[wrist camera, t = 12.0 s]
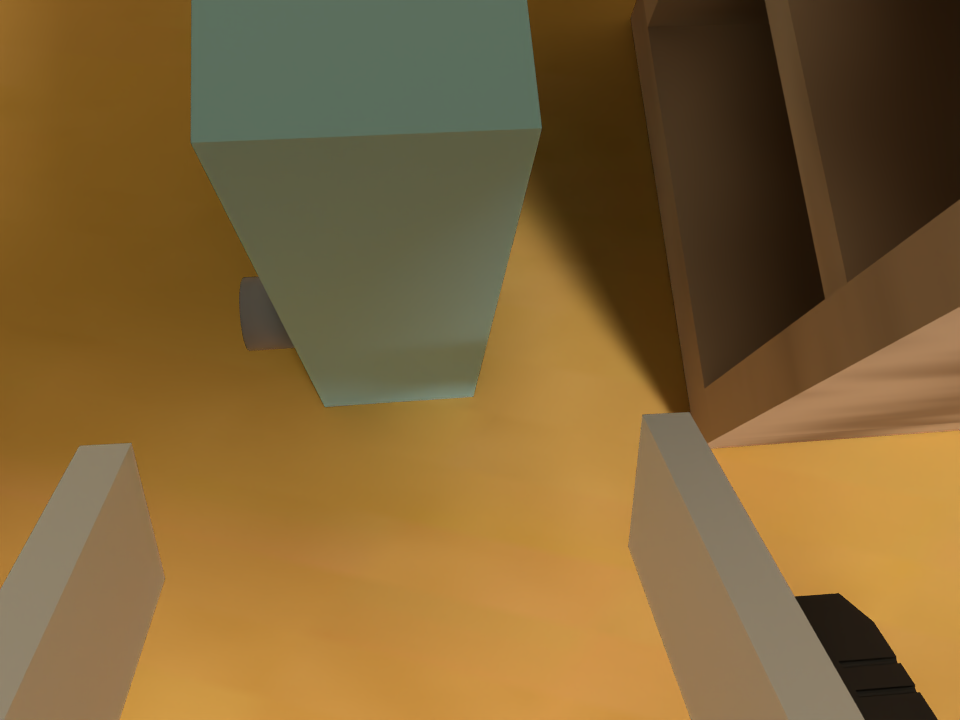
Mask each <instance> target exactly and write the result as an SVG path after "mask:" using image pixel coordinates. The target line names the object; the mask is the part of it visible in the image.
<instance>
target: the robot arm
mask: <svg viewBox="0 0 960 720" xmlns="http://www.w3.org/2000/svg"><path fill="white" fill-rule="evenodd" d="M628 547H629V550H630V553H631V555H632V558H633V561H634V564H635V566H636V569H637V572H638V575H639V578H640V580H641V583H642V586H643V589H644V591H645V594H646V597H647V600H648V602H649V605H650V608H651V611H652V613H653V616H654V619H655V622H656V624H657V627H658V630H659V633H660V636H661V638H662V641H663V644H664V647H665V649H666V652H667V655H668V658H669V660H670V663H671V666H672V669H673V671H674V674H675V677H676V680H677V682H678V685H679V688H680V691H681V694H682V696H683V699H684V702H685V705H686V707H687V710H688V713H689V716H690V718H691V720H938V719H937V718H936V716H935V715H934V713H933V712H932V710H931V709H930V707H929V706H928V704H927V702H926V701H925V699H924V698H923V696H922V695H921V693H920V692H918V693H917V692H916V690H915V684H914V683H913V681H912V680H911V678H910V677H909V675H908V674H907V672H906V671H905V669H904V667H903V666H902V664H901V663H897V661H896V655H895V654H894V652H893V651H892V649H891V648H890V646H889V645H888V643H887V642H886V640H885V639H884V637H883V636H882V634H881V633H880V631H879V629H878V628H877V626H876V625H875V623H874V622H873V621H872V620H871V619H869V618H868V617H867V616H866V615H865V614H863V613H862V612H861V611H860V610H858V609H857V608H856V607H855V606H854V605H852V604H851V603H850V602H849V601H848V600H846V599H845V598H844V597H843V596H841V595H840V594H839V593H837V594H823V595H810V596H796V597H794V595H793V593H792V591H791V590H790V588H789V586H788V584H787V583H786V581H785V579H784V577H783V576H782V574H781V572H780V570H779V569H778V567H777V565H776V563H775V562H774V560H773V558H772V556H771V555H770V553H769V551H768V549H767V547H766V546H765V544H764V542H763V540H762V539H761V537H760V535H759V533H758V532H757V530H756V528H755V526H754V525H753V523H752V521H751V519H750V518H749V516H748V514H747V512H746V511H745V509H744V507H743V505H742V504H741V502H740V500H739V498H738V497H737V495H736V493H735V491H734V490H733V488H732V486H731V484H730V483H729V481H728V479H727V477H726V476H725V474H724V472H723V470H722V469H721V467H720V465H719V463H718V462H717V460H716V458H715V456H714V455H713V453H712V451H711V449H710V447H709V446H708V444H707V442H706V440H705V439H704V437H703V435H702V433H701V432H700V430H699V428H698V426H697V425H696V423H695V421H694V419H693V418H692V416H691V414H690V412H681V413H663V414H645V415H642V424H641V433H640V442H639V452H638V461H637V470H636V480H635V489H634V498H633V508H632V517H631V526H630V536H629V545H628ZM164 580H165V576H164V572H163V568H162V564H161V560H160V556H159V552H158V548H157V543H156V539H155V535H154V531H153V527H152V523H151V519H150V515H149V511H148V507H147V503H146V499H145V495H144V491H143V487H142V483H141V479H140V475H139V471H138V467H137V463H136V459H135V455H134V451H133V447H132V443H121V444H103V445H85V446H79V448H78V449H77V451H76V453H75V455H74V457H73V458H72V460H71V462H70V464H69V466H68V467H67V469H66V471H65V473H64V475H63V477H62V478H61V480H60V482H59V484H58V486H57V487H56V489H55V491H54V493H53V495H52V497H51V498H50V500H49V502H48V504H47V506H46V507H45V509H44V511H43V513H42V515H41V517H40V518H39V520H38V522H37V524H36V526H35V527H34V529H33V531H32V533H31V535H30V536H29V538H28V540H27V542H26V544H25V546H24V547H23V549H22V551H21V553H20V555H19V556H18V558H17V560H16V562H15V564H14V566H13V567H12V569H11V571H10V573H9V575H8V576H7V578H6V580H5V582H4V584H3V586H2V587H1V589H0V720H120V717H121V713H122V710H123V707H124V704H125V701H126V698H127V695H128V692H129V689H130V686H131V682H132V679H133V676H134V673H135V670H136V667H137V664H138V661H139V658H140V655H141V651H142V648H143V645H144V642H145V639H146V636H147V633H148V630H149V627H150V623H151V620H152V617H153V614H154V611H155V608H156V605H157V602H158V599H159V596H160V592H161V589H162V586H163V583H164Z"/></svg>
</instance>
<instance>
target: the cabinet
mask: <svg viewBox="0 0 960 720" xmlns="http://www.w3.org/2000/svg"><path fill="white" fill-rule="evenodd" d="M631 24H632V31H633V38H634V44H635V51H636V57H637V64H638V70H639V77H640V84H641V90H642V97H643V103H644V110H645V116H646V123H647V130H648V136H649V143H650V149H651V156H652V162H653V169H654V176H655V182H656V189H657V195H658V202H659V208H660V215H661V222H662V228H663V235H664V241H665V248H666V255H667V261H668V268H669V274H670V281H671V287H672V294H673V301H674V307H675V314H676V320H677V327H678V333H679V340H680V347H681V353H682V360H683V366H684V373H685V379H686V386H687V393H688V399H689V406H690V412H691V416H692V418H693V419H694V421H695V423H696V425H697V426H698V428H699V430H700V432H701V433H702V435H703V437H704V439H705V440H706V442H707V444H708V446H709V447H710V448H724V447H738V446H751V445H765V444H779V443H792V442H806V441H819V440H833V439H847V438H860V437H874V436H887V435H901V434H915V433H928V432H942V431H955V430H960V0H637V1H636V4H635V7H634V10H633V12H632V15H631Z"/></svg>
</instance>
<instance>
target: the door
mask: <svg viewBox="0 0 960 720" xmlns="http://www.w3.org/2000/svg"><path fill="white" fill-rule="evenodd" d="M541 130H542V124H541V115H540V107H539V98H538V90H537V81H536V73H535V64H534V56H533V47H532V39H531V30H530V22H529V13H528V5H527V0H192V1H191V144H192V146H193V148H194V150H195V152H196V154H197V156H198V158H199V160H200V162H201V164H202V166H203V168H204V170H205V172H206V174H207V176H208V178H209V180H210V182H211V184H212V186H213V188H214V190H215V192H216V194H217V196H218V198H219V200H220V202H221V203H222V205H223V207H224V209H225V211H226V213H227V215H228V217H229V219H230V221H231V223H232V225H233V227H234V229H235V231H236V233H237V235H238V237H239V239H240V241H241V243H242V245H243V247H244V249H245V251H246V253H247V255H248V257H249V259H250V261H251V263H252V265H253V267H254V268H255V270H256V272H257V274H258V276H259V277H244V278H242V281H241V285H240V296H239V304H240V320H241V328H242V334H243V338H244V342H245V345H246V348H247V349H248V350H249V351H253V350H269V349H285V348H295V349H296V351H297V353H298V355H299V357H300V359H301V361H302V363H303V365H304V367H305V369H306V371H307V373H308V375H309V377H310V379H311V381H312V383H313V385H314V387H315V389H316V391H317V393H318V395H319V397H320V398H321V400H322V402H323V404H324V406H325V407H330V406H345V405H360V404H374V403H389V402H404V401H418V400H433V399H447V398H462V397H473V396H474V392H475V388H476V384H477V380H478V376H479V372H480V369H481V365H482V361H483V357H484V353H485V349H486V345H487V341H488V337H489V333H490V329H491V326H492V322H493V318H494V314H495V310H496V306H497V302H498V298H499V294H500V290H501V287H502V283H503V279H504V275H505V271H506V267H507V263H508V259H509V255H510V251H511V247H512V244H513V240H514V236H515V232H516V228H517V224H518V220H519V216H520V212H521V208H522V205H523V201H524V197H525V193H526V189H527V185H528V181H529V177H530V173H531V169H532V166H533V162H534V158H535V154H536V150H537V146H538V142H539V138H540V134H541Z"/></svg>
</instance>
